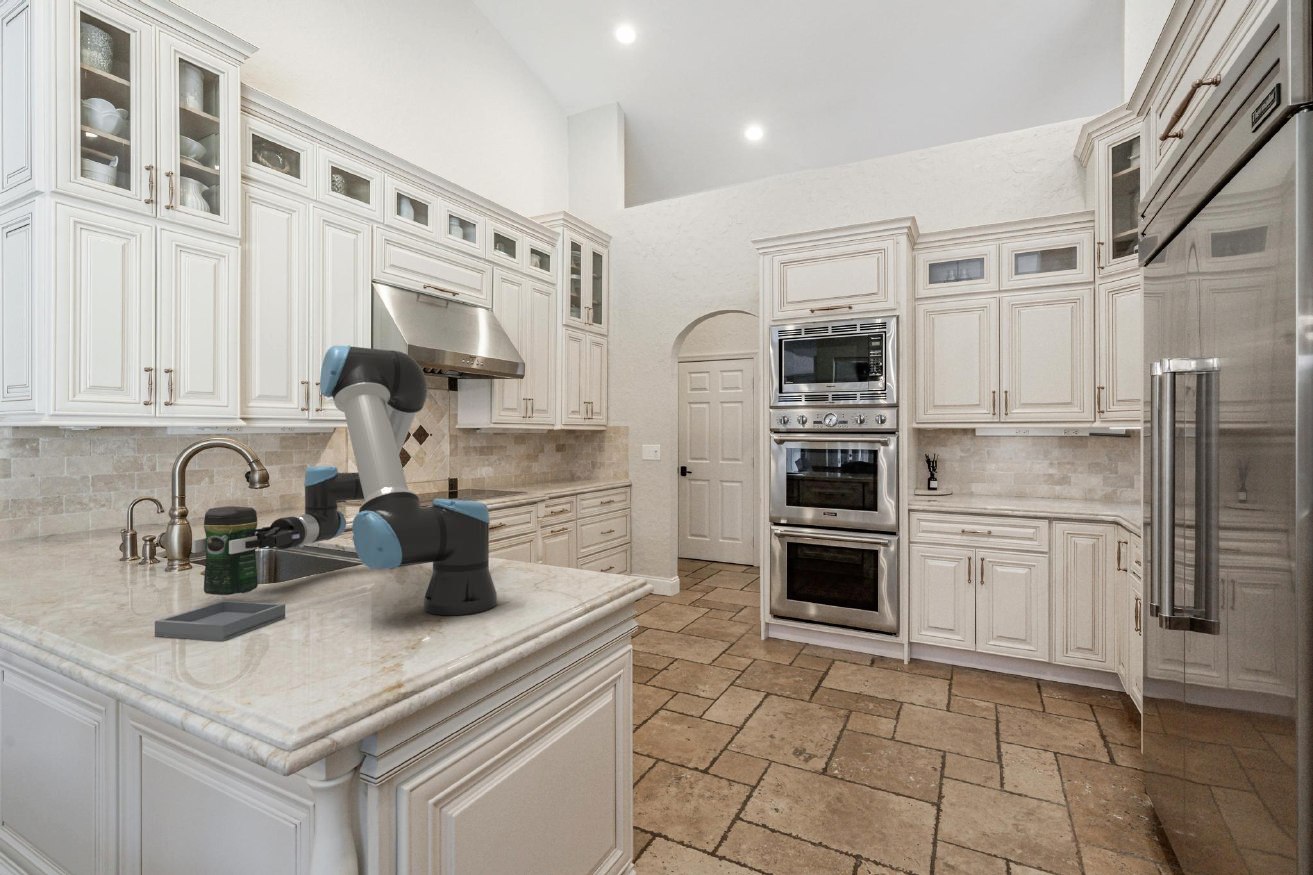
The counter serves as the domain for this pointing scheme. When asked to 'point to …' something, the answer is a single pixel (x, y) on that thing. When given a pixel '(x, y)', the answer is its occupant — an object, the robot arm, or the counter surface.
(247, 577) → the coffee jar
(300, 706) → the counter surface
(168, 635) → the holder
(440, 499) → the robot arm
